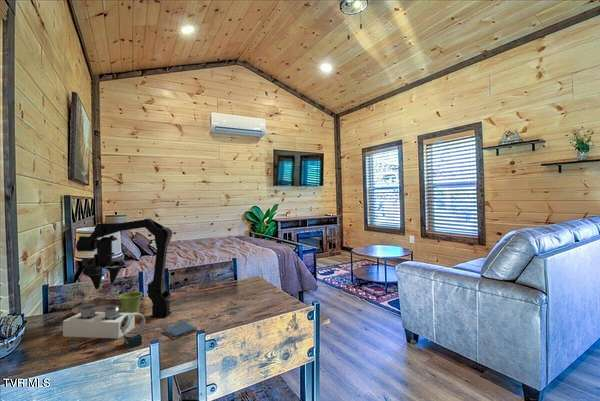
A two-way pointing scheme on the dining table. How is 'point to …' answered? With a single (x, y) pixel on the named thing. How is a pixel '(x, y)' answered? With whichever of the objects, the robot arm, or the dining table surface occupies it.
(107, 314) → the peg
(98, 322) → the sleeve block
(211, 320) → the dining table surface
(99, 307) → the plant saucer
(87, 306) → the peg
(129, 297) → the plant pot
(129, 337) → the watch
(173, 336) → the woven mat
